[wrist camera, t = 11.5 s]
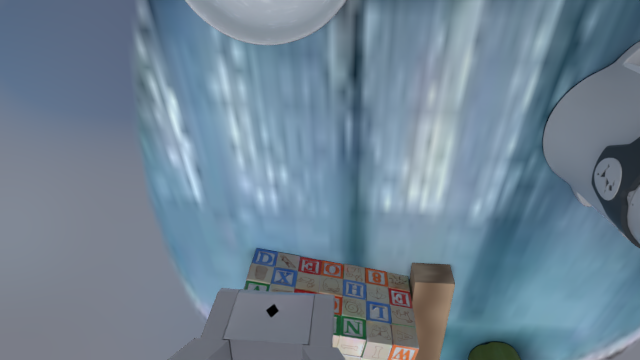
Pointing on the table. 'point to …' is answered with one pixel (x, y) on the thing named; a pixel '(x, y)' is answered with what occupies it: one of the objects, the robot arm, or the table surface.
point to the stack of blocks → (347, 302)
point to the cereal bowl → (266, 18)
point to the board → (431, 306)
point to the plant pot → (494, 352)
